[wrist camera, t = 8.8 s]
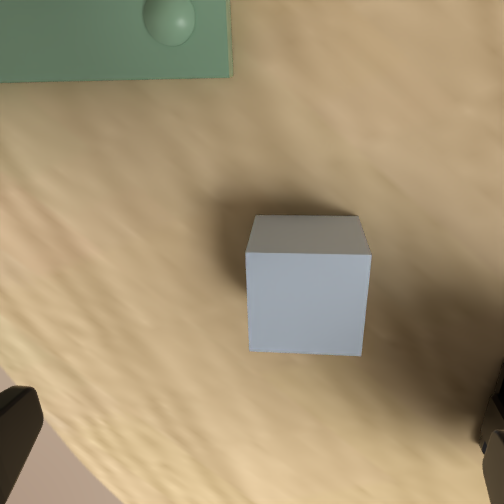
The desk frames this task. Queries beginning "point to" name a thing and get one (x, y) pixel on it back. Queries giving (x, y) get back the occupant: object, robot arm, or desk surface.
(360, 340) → the grey cube
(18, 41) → the baseplate
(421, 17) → the desk surface
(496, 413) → the robot arm
